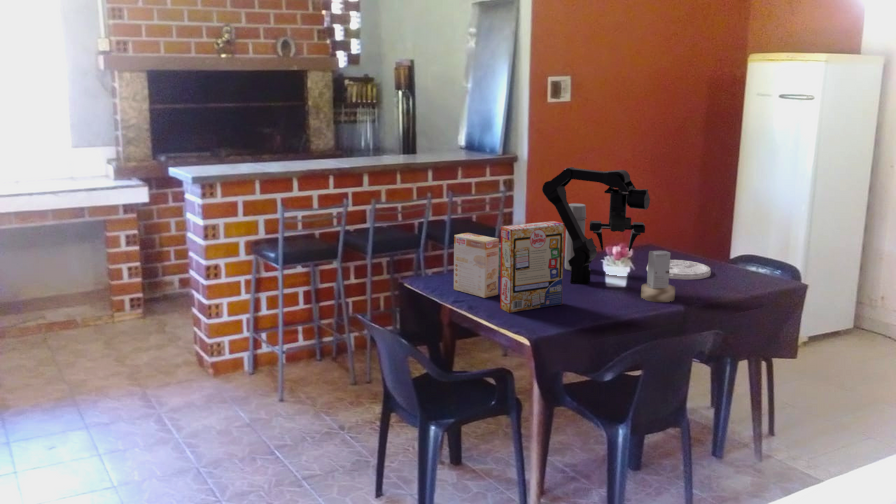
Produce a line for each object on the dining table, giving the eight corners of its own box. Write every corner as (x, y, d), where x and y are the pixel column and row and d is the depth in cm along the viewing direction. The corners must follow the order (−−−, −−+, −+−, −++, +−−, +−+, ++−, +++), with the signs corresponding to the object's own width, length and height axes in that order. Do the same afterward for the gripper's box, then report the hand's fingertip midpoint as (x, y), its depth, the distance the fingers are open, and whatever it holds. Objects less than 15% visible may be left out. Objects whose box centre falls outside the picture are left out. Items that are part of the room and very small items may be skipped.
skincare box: (653, 289, 268) (655, 253, 265) (645, 286, 272) (647, 250, 270) (669, 287, 270) (671, 252, 267) (661, 284, 274) (664, 249, 271)
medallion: (665, 282, 293) (665, 275, 293) (631, 264, 319) (632, 259, 318) (722, 278, 299) (723, 272, 298) (685, 261, 324) (685, 256, 324)
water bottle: (579, 272, 304) (582, 207, 299) (560, 269, 308) (562, 205, 303) (588, 267, 312) (591, 203, 306) (570, 265, 316) (572, 202, 310)
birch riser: (641, 302, 267) (642, 290, 267) (639, 293, 278) (640, 282, 277) (676, 303, 266) (676, 292, 265) (672, 295, 276) (673, 283, 275)
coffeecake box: (498, 294, 274) (499, 238, 270) (484, 298, 269) (485, 241, 265) (467, 286, 285) (467, 231, 280) (452, 289, 280) (453, 234, 276)
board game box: (552, 300, 268) (555, 220, 262) (563, 305, 262) (566, 223, 256) (498, 308, 259) (500, 225, 253) (509, 313, 253) (511, 229, 247)
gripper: (590, 209, 272) (588, 254, 276) (647, 211, 269) (644, 257, 273) (590, 204, 283) (588, 248, 286) (645, 206, 280) (642, 250, 283)
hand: (615, 251), depth 282 cm, fingers open, 9 cm apart
